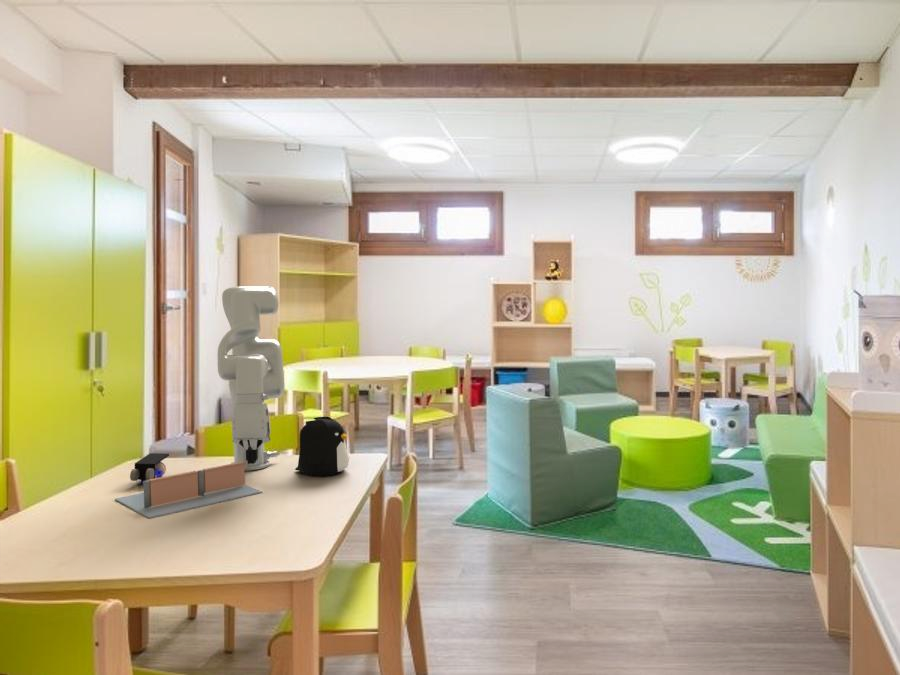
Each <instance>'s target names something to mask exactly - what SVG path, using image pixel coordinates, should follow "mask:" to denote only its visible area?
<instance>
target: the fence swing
mask: <svg viewBox="0 0 900 675" xmlns="http://www.w3.org/2000/svg"><path fill="white" fill-rule="evenodd" d="M202 470H203V477H204V493H209V492H214V491H219V490H223V489H228V488H232V487H237V486H242V485H246V480H245V471H244V462H238V463H233V464H231V463H229V464H223V465H218V466H213V467H209V468H203V469H202Z"/></svg>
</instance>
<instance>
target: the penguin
mask: <svg viewBox="0 0 900 675" xmlns="http://www.w3.org/2000/svg"><path fill="white" fill-rule="evenodd" d="M347 437H349V435H347V434H345V429H344V427H343V426H342V425H341V423H339V422H338V421H337V420H336V419H333V418H331V417H329V416H317V417H313V420H308V421H307V420H306V421H305V425H303V427H302V428H301V429H300V431H299V454H298V462H297V467H296V468H295V471H299V472H301V473H302V474H306V475H308V476H317V477H321V476H324V477H326V476H327V477H330V476H335V475H337V474H341V473H342V472H343V471H345V469H347V468H348V466H349V463H350V456H349V453H348V450H347V444H346V440H347Z"/></svg>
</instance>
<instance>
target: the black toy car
mask: <svg viewBox="0 0 900 675" xmlns="http://www.w3.org/2000/svg"><path fill="white" fill-rule="evenodd" d="M169 456H170V453H159V452H158V453H155V452H150V453H148V454H147V455H145V456H144V457H142V458H140V459H139V460H138V461H136V462H134V468H133V469H131V471H130V474H129V479H130V481H132V482H137V481H138V480H139V481H140V482H139V483H138V484H137V486H138V487H140V486H143V481H146V480H149V479H155V478H160V477H163V476H164V475H165V473H166V472H167V467H166V465H165V463H163V460H165V459H167V458H168V457H169Z"/></svg>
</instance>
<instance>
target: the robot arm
mask: <svg viewBox="0 0 900 675" xmlns="http://www.w3.org/2000/svg"><path fill="white" fill-rule="evenodd" d="M221 300H222V308H223V312H224V314H225V316H226V319H227V322H228V323H229V326H230V329H229V331H227V332H226V333H225V335H223V337H222V338H221V340H220V341H219V344H218V347H217V372H218V376H219V378H221V379H222V380H223V381H228V387H229V394H230V398H231V399H230V400H231V407H232V418H231V420H232V421H231V422H232V423H231V436H232V440H231V442H232V443H233V459H234V461H233V462H231V463H230V464H233V463H238V462H244V472H245V471H257V470H258V471H259V470H262V469H265V468H267V467H269V465H270V461H269V459H271V458H277V457H278V454H279V453H278V451H277V450H274V451H269V450H265V443H270V441H271V436H270V435H271V420H270V413H269V408H268V404H267V403H266V402H265V401H266V400H270V399H271V400H272V399H274V400H275V399H278V398H281V397H282V396H283V395H284V392H285V375H284V372H285V370H284V360H283V359H284V358H283V350H282V345H281V344H280V342H279V341H278V340H277V339H273V338H268V339H267V338H266V339H263V338H261V339H260V338H259V334H260V332H261V318H260V316H262V315H263V316H267V315H269V316H271V315H275V314H277V312H278V310H279V296H278V293H277V291H276V289H275V287H273V286H270V285H269V286H268V285H267V286H266V285H264V286H263V285H262V286H261V285H260V286H258V285H257V286H256V285H255V286H251V285H249V286H248V285H247V286H246V285H245V286H243V285H241V286H231V287H227V288H225V289H224V290H223V291H222V295H221ZM230 351H232V354H228V353H229V352H230Z"/></svg>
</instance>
